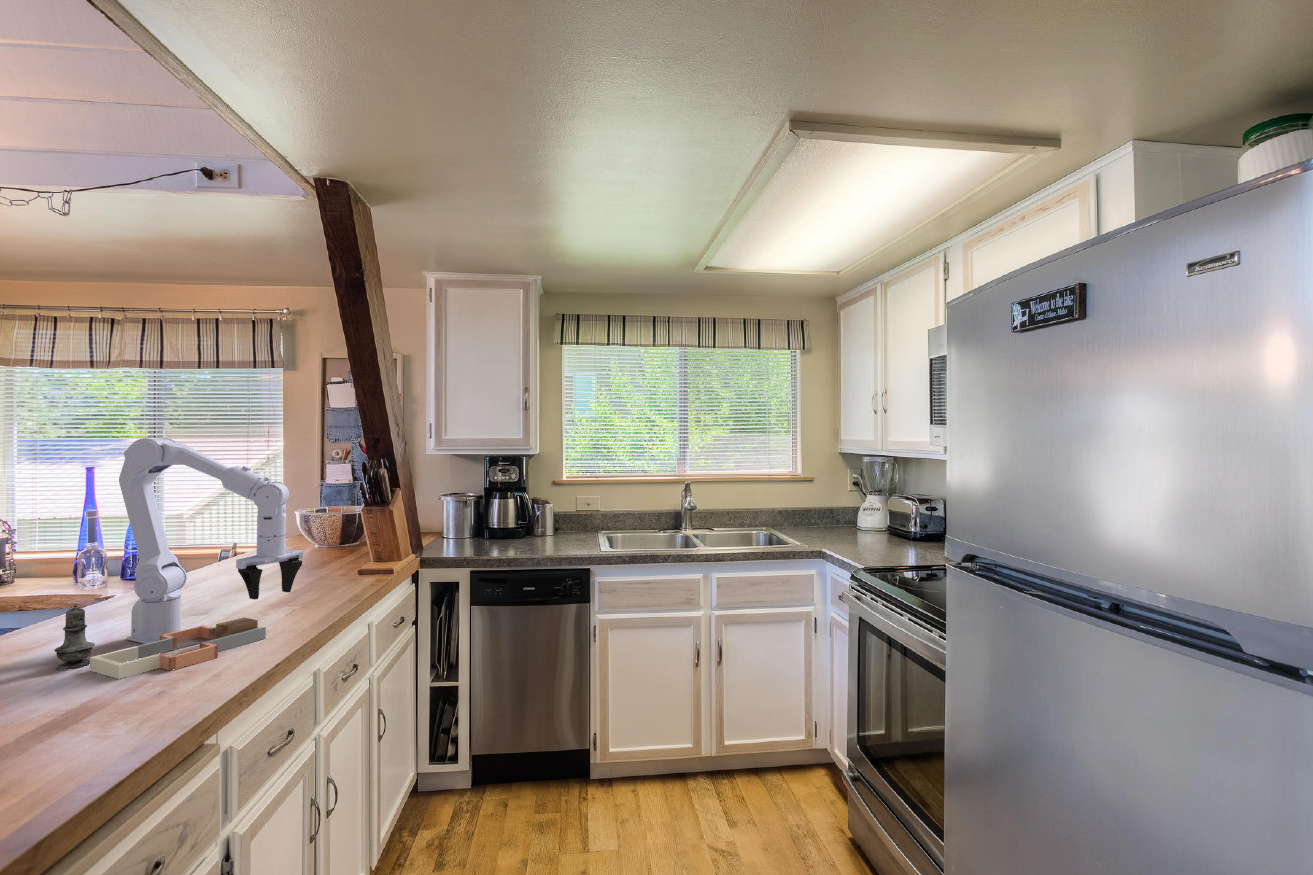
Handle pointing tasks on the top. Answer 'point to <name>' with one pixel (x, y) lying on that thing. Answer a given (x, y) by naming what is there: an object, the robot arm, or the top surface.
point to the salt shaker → (74, 641)
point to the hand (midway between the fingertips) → (270, 595)
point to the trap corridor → (152, 659)
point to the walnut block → (235, 627)
